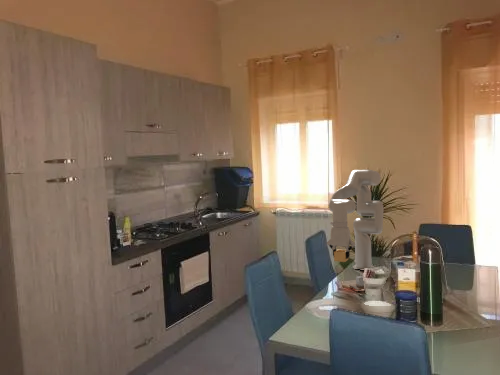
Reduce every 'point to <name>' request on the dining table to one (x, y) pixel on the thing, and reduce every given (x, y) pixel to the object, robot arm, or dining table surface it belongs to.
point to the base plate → (356, 287)
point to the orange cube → (340, 255)
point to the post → (359, 281)
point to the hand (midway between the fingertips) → (341, 257)
